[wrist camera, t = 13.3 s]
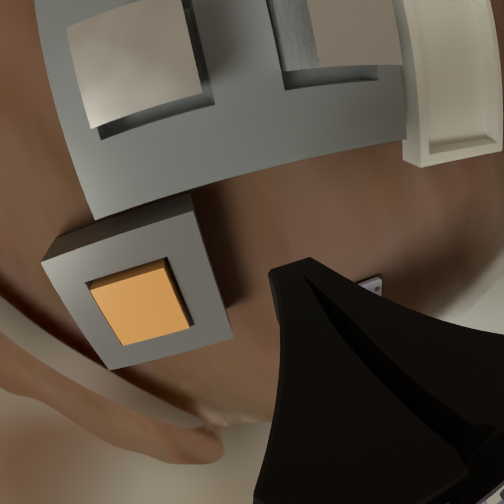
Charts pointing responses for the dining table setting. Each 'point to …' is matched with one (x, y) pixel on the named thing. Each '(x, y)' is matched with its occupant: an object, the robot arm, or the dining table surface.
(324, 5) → the steel block
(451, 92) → the tray
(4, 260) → the dining table surface
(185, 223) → the button housing
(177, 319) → the button
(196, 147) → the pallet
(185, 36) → the block
